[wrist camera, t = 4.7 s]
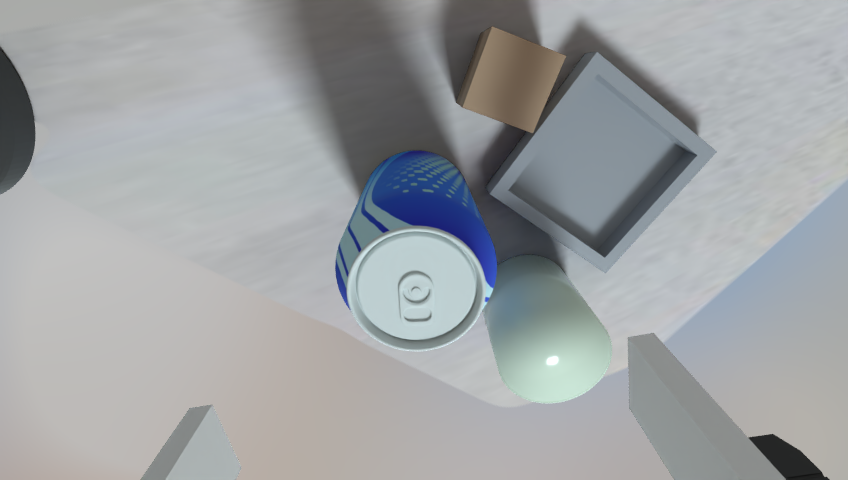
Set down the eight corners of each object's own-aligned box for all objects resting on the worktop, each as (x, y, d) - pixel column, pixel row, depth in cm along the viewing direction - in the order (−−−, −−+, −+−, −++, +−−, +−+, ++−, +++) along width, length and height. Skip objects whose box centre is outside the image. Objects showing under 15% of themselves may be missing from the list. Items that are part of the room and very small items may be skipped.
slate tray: (485, 186, 35) (489, 193, 33) (585, 53, 31) (597, 51, 29) (595, 262, 37) (605, 273, 35) (698, 146, 34) (716, 151, 32)
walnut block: (455, 102, 32) (462, 107, 28) (480, 33, 31) (492, 26, 26) (516, 124, 33) (532, 133, 28) (544, 58, 31) (566, 55, 27)
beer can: (344, 209, 35) (292, 309, 20) (405, 125, 33) (396, 169, 18) (426, 265, 37) (432, 394, 22) (489, 189, 35) (543, 277, 20)
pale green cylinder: (462, 306, 39) (474, 371, 30) (517, 237, 36) (548, 287, 28) (530, 347, 41) (560, 419, 32) (587, 284, 38) (636, 344, 30)
